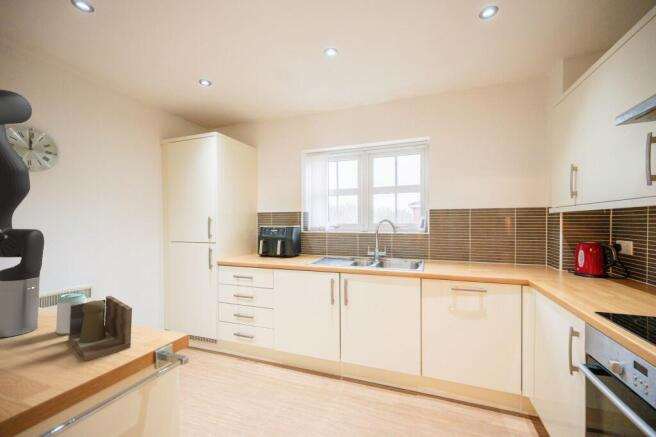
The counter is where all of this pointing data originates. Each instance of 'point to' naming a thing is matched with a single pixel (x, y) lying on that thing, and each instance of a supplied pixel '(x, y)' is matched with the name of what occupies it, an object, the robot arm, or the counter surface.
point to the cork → (93, 322)
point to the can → (67, 310)
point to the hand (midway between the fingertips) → (17, 249)
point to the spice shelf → (115, 328)
